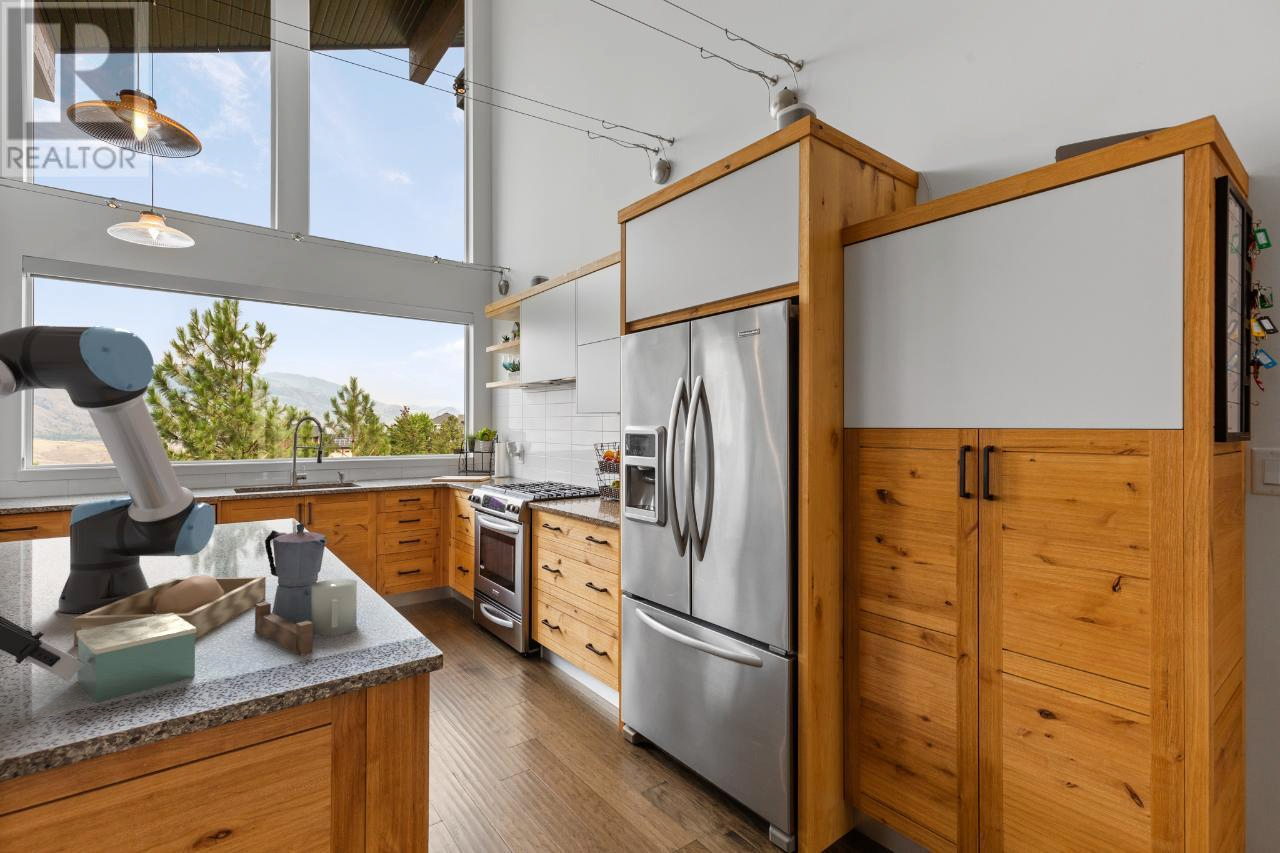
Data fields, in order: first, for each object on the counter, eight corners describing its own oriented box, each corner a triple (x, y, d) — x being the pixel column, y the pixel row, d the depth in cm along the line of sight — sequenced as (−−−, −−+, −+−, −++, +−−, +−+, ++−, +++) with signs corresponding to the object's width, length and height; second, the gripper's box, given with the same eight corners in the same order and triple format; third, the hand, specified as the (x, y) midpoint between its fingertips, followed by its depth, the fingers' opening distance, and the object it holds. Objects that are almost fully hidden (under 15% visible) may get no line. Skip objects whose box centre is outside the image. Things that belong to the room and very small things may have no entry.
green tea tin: (76, 682, 95) (76, 631, 95) (172, 658, 105) (172, 612, 105) (94, 705, 88) (94, 649, 88) (196, 677, 97) (196, 627, 97)
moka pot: (309, 631, 119) (310, 529, 119) (242, 625, 122) (243, 525, 122) (342, 616, 128) (343, 521, 128) (279, 611, 131) (280, 518, 131)
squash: (179, 635, 116) (164, 590, 115) (137, 631, 126) (123, 590, 125) (239, 609, 125) (226, 567, 124) (195, 607, 135) (183, 569, 135)
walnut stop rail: (255, 630, 119) (255, 604, 119) (266, 628, 120) (266, 601, 120) (300, 655, 107) (301, 625, 107) (312, 652, 108) (312, 623, 108)
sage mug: (311, 626, 122) (312, 581, 122) (355, 620, 126) (356, 577, 126) (310, 642, 113) (310, 594, 113) (357, 636, 117) (358, 589, 117)
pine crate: (174, 600, 138) (174, 578, 138) (265, 598, 140) (265, 576, 140) (73, 645, 110) (74, 618, 110) (190, 642, 112) (190, 615, 112)
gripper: (-134, 596, 79) (42, 682, 93) (-134, 616, 71) (59, 708, 84) (-71, 549, 84) (89, 638, 97) (-64, 563, 76) (110, 658, 89)
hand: (75, 671), depth 91 cm, fingers closed
